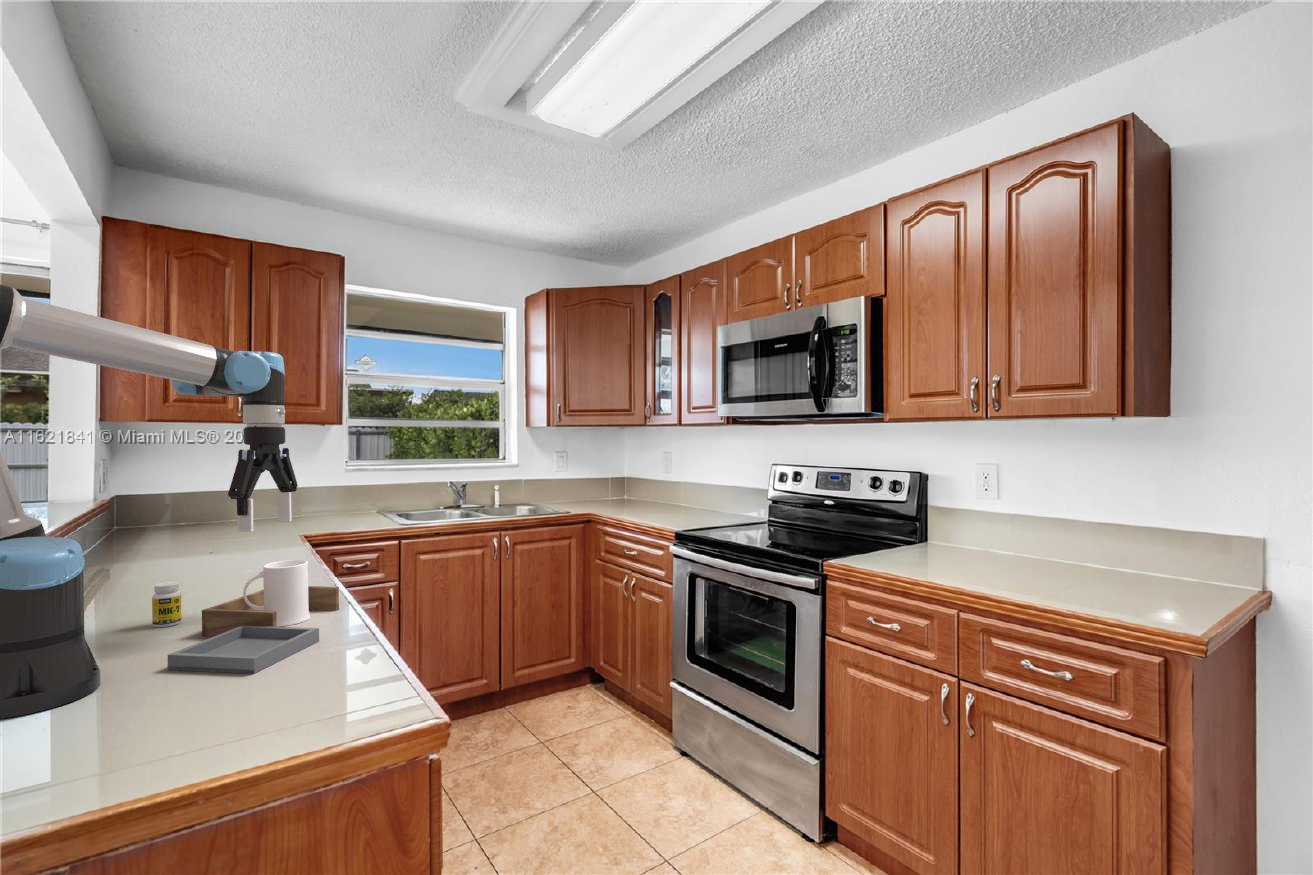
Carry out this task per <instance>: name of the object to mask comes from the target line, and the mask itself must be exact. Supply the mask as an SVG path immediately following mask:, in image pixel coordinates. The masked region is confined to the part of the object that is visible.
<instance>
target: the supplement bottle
mask: <svg viewBox="0 0 1313 875" xmlns="http://www.w3.org/2000/svg"><path fill="white" fill-rule="evenodd" d="M179 585H180V583H179V582H178V581H168V582H160V583H156V584H155V585H154V591H153V592H154V594H153V595H152V597H151V602H152V603H151V608H152V612H151V614H152V615H151V616H152V618H151V621H152V622H151V623H152V627H154V628H167V627H172V626H177V625H179V624H180V623H181V622H182V593H181V591H179V589H180V586H179Z"/></svg>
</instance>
